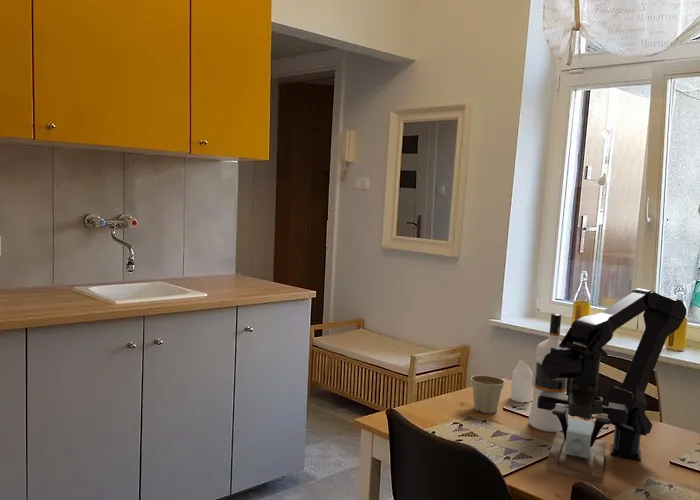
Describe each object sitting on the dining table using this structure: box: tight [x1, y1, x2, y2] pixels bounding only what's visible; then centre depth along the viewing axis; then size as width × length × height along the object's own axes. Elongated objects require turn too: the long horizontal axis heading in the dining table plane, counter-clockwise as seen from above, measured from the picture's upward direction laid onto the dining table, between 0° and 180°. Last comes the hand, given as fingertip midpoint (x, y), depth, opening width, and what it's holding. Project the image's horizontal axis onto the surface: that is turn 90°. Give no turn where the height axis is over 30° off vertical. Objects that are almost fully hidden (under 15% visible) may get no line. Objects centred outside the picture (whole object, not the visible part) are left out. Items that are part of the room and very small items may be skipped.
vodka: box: [528, 313, 568, 433], centre depth 160 cm, size 9×9×30 cm
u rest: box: [546, 431, 606, 484], centre depth 139 cm, size 18×11×3 cm, turn 155°
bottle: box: [565, 417, 594, 458], centre depth 138 cm, size 13×5×5 cm, turn 155°
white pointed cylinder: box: [510, 360, 534, 403], centre depth 183 cm, size 6×12×6 cm
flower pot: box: [470, 374, 506, 414], centre depth 171 cm, size 9×9×9 cm
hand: (578, 443), depth 139 cm, fingers closed on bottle, 5 cm apart
